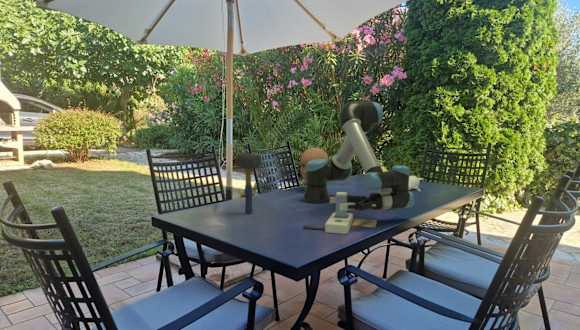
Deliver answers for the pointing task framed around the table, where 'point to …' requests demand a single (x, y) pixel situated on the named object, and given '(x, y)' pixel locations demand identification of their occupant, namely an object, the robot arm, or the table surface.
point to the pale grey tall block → (341, 199)
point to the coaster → (364, 223)
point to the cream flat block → (335, 224)
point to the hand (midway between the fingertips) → (334, 203)
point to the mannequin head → (311, 158)
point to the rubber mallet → (248, 174)
